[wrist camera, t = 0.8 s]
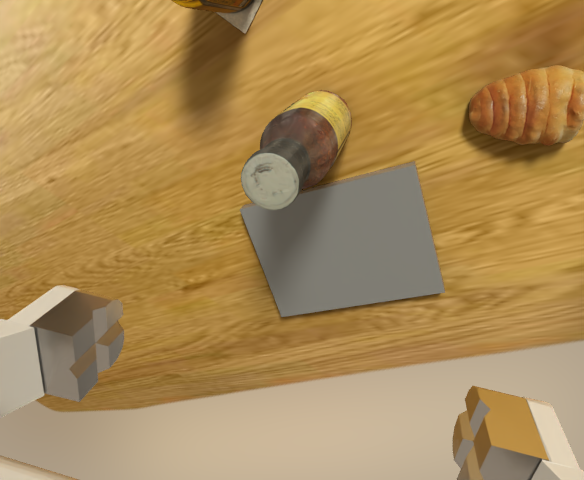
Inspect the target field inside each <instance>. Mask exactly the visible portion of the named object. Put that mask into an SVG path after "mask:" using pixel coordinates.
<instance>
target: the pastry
mask: <svg viewBox="0 0 584 480" xmlns="http://www.w3.org/2000/svg"><path fill="white" fill-rule="evenodd" d="M583 120H584V72H582V71H581V70H574V69H569V68H567V67H564V66H560V65H554V66H551V67H547V68H540V69H531V70H527V71H524V72H522V73H518V74H516V75H513V76H511V77H507V78H504V79H501V80H498V81H495V82H493V83H490V84H488V85H487V86H485V87H484V88H482V89H481V90H480V91H478V92H477V93H476V94H475V95H474V96H473V97H472V98H471V100H470V104H469V121H470V123H471V124H472V125H473V126H474V127H475V128H476V130H477V131H478V132H480V133H484V134H488V135H491V136H492V137H494V138H497V139H501V140H507V141H513V142H516V143H517V144H520V145H525V144H529V143H532V144H534V143H542V144H543V145H552V144H554V143H557V142H561V143H566V142H569V141H570V140H572V139H573V137H575V136H576V135H577V133H578V131H579V130H580V128H581V126H582V124H583Z"/></svg>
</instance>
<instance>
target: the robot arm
mask: <svg viewBox="0 0 584 480" xmlns="http://www.w3.org/2000/svg"><path fill="white" fill-rule="evenodd" d="M122 315H123V308H122V303H121V302H120V301H119V300H118V299H115V298H111V297H107V296H104V295H100V294H96V293H92V292H89V291H85V290H79V289H76V288H73V287H69V286H65V285H60V286H55V287H54V288H53V289H51V290H50V291H48V292H47V293H45V294H44V295H43V296H41V297H40V298H38V299H37V300H35V301H34V302H33V303H31V304H30V305H28V306H27V307H25V308H24V309H23V310H21V311H20V312H18V313H17V314H15V315H14V316H13V317H11V318H10V319H8V320H3V319H0V418H1V417H3V416H5V415H7V414H9V413H11V412H13V411H15V410H17V409H19V408H21V407H23V406H24V405H26V404H28V403H30V402H32V401H34V400H36V399H38V398H40V397H42V396H44V393H46V394H50V395H54V396H58V397H62V398H66V399H70V400H74V401H78V402H80V401H81V400H82V399H83V397H84V396H85V395H86V394H87V393H88V392H89V391H90V390H91V389H92V387H93V386H94V385H95V384H96V383H97V382H98V373H99V372H101V371H104V370H106V369H109V368H110V367H111V366H112V365H113V363H114V362H115V361H116V360H117V358H118V356H119V354H120V352H121V350H122V347H123V342H124V330H123V328H122V327H121V325H120V324H119V322H118V320H119V319H120V318H121V317H122ZM465 401H466V407H467V411H465V412H463V413H461V414H459V416H458V419H457V422H456V425H455V428H454V435H453V455H454V460H455V462H456V463H457V464H458V466H459V467H460V468H461V471H460V473H459V475H458V478H457V480H584V470H581V469H580V467H579V465H578V462H577V460H576V458H575V456H574V454H573V451H572V449H571V448H570V445H569V443H568V440H567V438H566V436H565V434H564V432H563V429H562V427H561V425H560V423H559V420H558V418H557V416H556V414H555V411H554V409H553V407H552V406H551V405H550V404H549V403H548V402H544V401H539V400H535V399H530V398H525V397H518V396H514V395H509V394H505V393H501V392H497V391H493V390H488V389H484V388H480V387H476V386H472V387H471V389H470V390H469V392H468V394H467V396H466V398H465ZM0 480H78V479H75V478H72V477H68V476H65V475H62V474H58V473H56V472H52V471H49V470H45V469H42V468H39V467H36V466H33V465H30V464H26V463H23V462H20V461H17V460H13V459H10V458H7V457H4V456H0Z"/></svg>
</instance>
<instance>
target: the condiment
mask: <svg viewBox="0 0 584 480" xmlns="http://www.w3.org/2000/svg"><path fill="white" fill-rule="evenodd" d="M172 1H173V2H175V3H176V4H178V5H180V6H183V7H185V8H192V9H198V10H206V11H212V12H216V13H217V14H218V15H220V16H221V17H222V18H224V19H225V20H227V21H228V22H229V23H231V24H232V25H233V26H235V27H236V28H238V29H239V30H240V31H242V32H243V33H245V34H246V32H247V30H248V28H249V26H250V24H251V22H252V20H253V18H254V16H255V14H256V12H257V10H258V8H259V6H260V4H261V2H262V0H172Z"/></svg>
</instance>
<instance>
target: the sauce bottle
mask: <svg viewBox="0 0 584 480" xmlns="http://www.w3.org/2000/svg"><path fill="white" fill-rule="evenodd" d="M351 125H352V120H351V113H350V111H349V108H348V106H347V103H346V102H345V101H344V99H342V98H341V97H339V96H338V95H336V94H334V93H332V92H329V91H322V90H321V91H315V92H311V93H309V94H306V95H304V96H303V97H301V98H300V99H299V100H298V101H296V102H295V103H293V104H292V105H291V106H290V107H288V108H287V109H285V110H284V111H283V112H281V113H280V114H279V115H277V116H276V117H275V118H274V119H273V120H272V121H271V122H270V123H269V124H268V125H267V126H266V128H265V130H264V132H263V134H262V137H261V141H260V150H259V151H257V152H255V153H254V154H253V155H252V156H251V157H250V158H249V159H248V160H247V162H246V163H245V165H244V167H243V170H242V173H241V182H242V186H243V189H244V191H245V194H246V195H247V197H248V198H249V199H250V200H251V201H252V202H253V203H254V204H256V205H257V206H259V207H261V208H263V209H267V210H280V209H283V208H285V207H288V206H289V205H290V204H291V203H293V202H294V200H295V199H296V198H297V196H298V195H299V194H300V192H301V190H302V189H306V188H309V187H311V186H313V185H316V184H317V183H318V182H319V181H320V180H322V179H323V177H324V176H325V175H326V174H327V172H328V170H329V169H330V168H331V167H332V165H333V164H334V162H335V160H336V158H337V157H338V155H339V153H340V151H341V149H342V147H343V145H344V143H345V141H346V140H347V138H348V136H349V134H350V131H349V130H350V129H351Z"/></svg>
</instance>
